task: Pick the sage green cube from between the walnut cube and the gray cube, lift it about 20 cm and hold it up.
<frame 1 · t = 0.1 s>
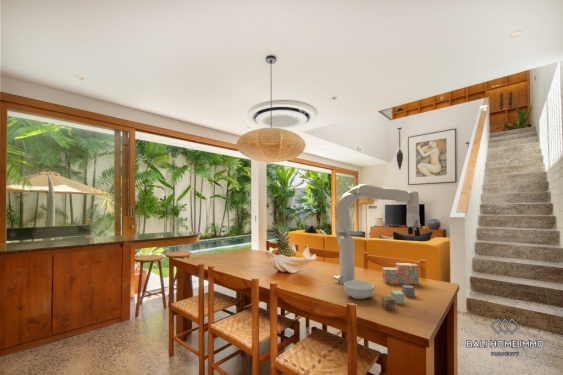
hand: (413, 235, 179), 31 cm above the table, tool pointing down, fingers open, 9 cm apart
gray cube: (408, 295, 154), on the table
sage green cube: (397, 301, 144), on the table
stack of blocks: (400, 283, 177), on the table
cereal bowl: (359, 297, 152), on the table
walnut cube: (388, 308, 135), on the table
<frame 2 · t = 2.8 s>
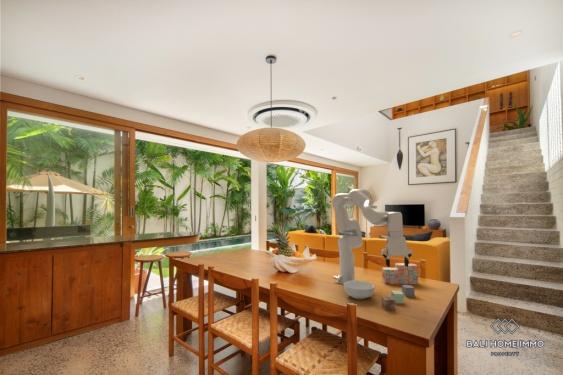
hand: (397, 266, 145), 19 cm above the table, tool pointing down, fingers open, 9 cm apart
nothing on the table moved.
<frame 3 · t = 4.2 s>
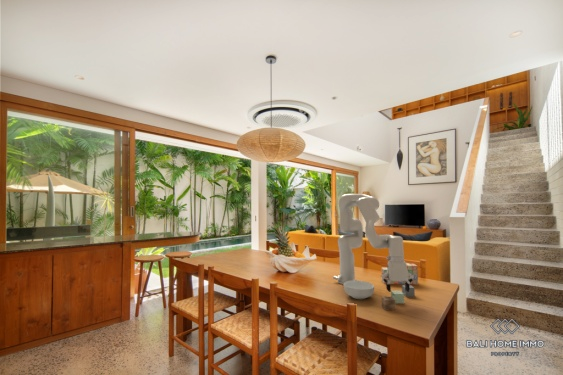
hand: (398, 291, 144), 6 cm above the table, tool pointing down, fingers open, 9 cm apart
nothing on the table moved.
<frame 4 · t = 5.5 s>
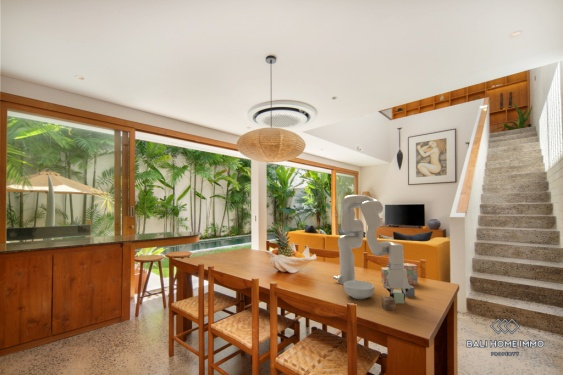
hand: (397, 300, 144), 1 cm above the table, tool pointing down, fingers closed on sage green cube, 5 cm apart
sage green cube: (397, 301, 144), on the table, touching gripper
everything else where it was.
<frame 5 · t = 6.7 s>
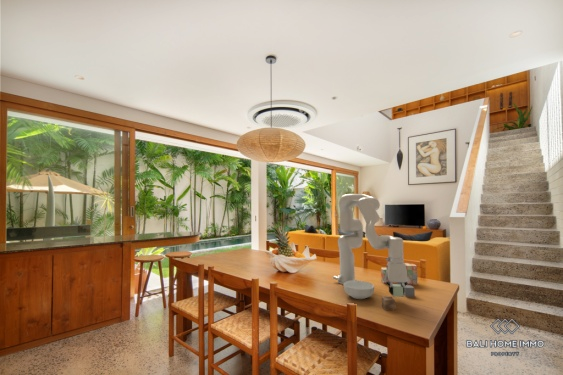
hand: (396, 293, 145), 4 cm above the table, tool pointing down, fingers closed on sage green cube, 4 cm apart
sage green cube: (396, 295, 145), point 3 cm above the table, touching gripper
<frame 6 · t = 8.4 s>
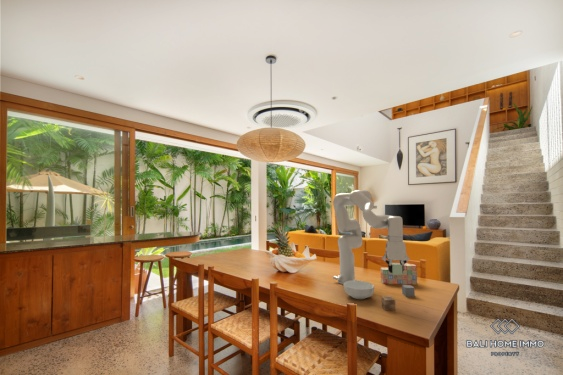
hand: (395, 271, 145), 16 cm above the table, tool pointing down, fingers closed on sage green cube, 4 cm apart
sage green cube: (395, 273, 145), point 15 cm above the table, touching gripper
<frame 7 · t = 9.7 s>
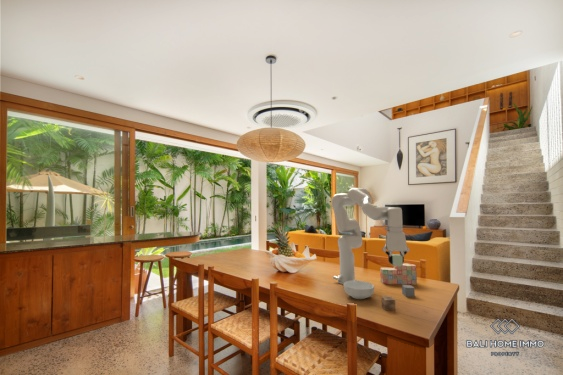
hand: (396, 263, 145), 21 cm above the table, tool pointing down, fingers closed on sage green cube, 4 cm apart
sage green cube: (396, 264, 145), point 20 cm above the table, touching gripper
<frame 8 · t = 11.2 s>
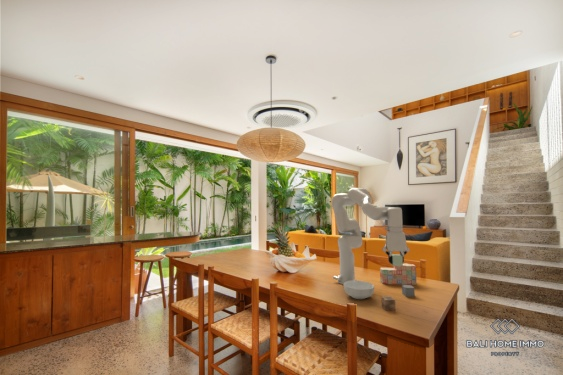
hand: (396, 263, 145), 21 cm above the table, tool pointing down, fingers closed on sage green cube, 4 cm apart
sage green cube: (396, 264, 145), point 20 cm above the table, touching gripper
at the end: the gripper is holding sage green cube; sage green cube point 19.8 cm above the table; walnut cube moved 0.1 cm from its start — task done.
